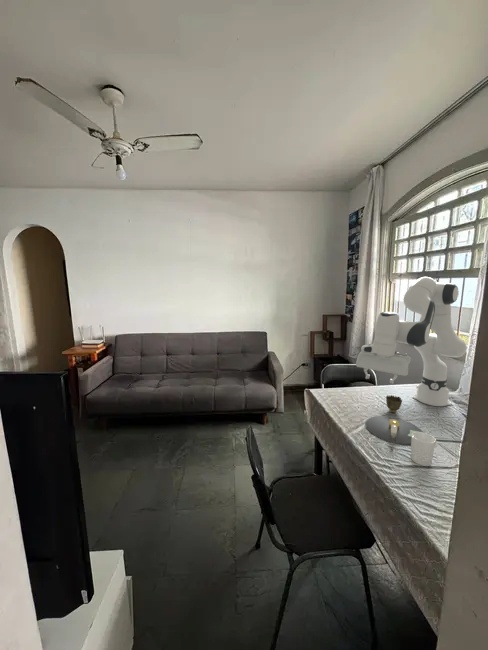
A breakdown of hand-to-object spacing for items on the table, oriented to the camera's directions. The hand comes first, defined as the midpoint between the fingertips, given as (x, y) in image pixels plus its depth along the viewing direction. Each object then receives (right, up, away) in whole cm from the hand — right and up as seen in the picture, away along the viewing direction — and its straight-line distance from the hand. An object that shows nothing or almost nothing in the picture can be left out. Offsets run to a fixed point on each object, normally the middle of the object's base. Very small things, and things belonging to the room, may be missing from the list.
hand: (379, 381), depth 121 cm
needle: (+9, -25, +6) cm, 27 cm away
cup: (+21, -22, +28) cm, 41 cm away
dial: (+12, -25, +10) cm, 30 cm away
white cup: (+11, -29, -12) cm, 33 cm away
